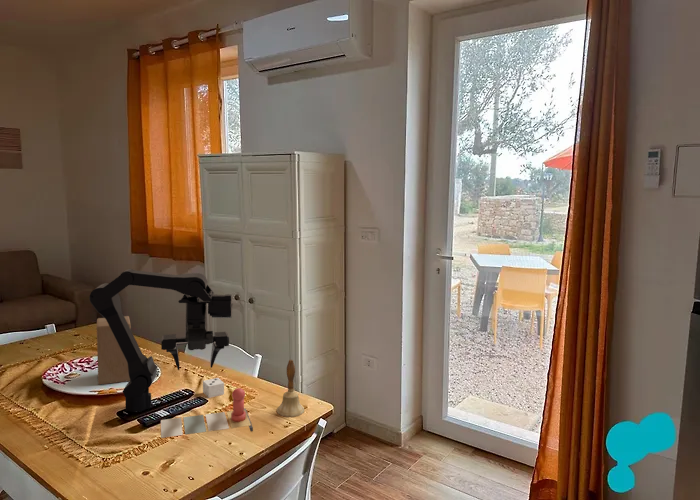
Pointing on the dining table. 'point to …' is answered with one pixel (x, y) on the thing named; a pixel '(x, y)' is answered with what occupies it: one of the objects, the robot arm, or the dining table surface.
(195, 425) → the board
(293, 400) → the hand bell
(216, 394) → the die
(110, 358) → the wooden block
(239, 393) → the pawn
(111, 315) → the robot arm
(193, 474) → the dining table surface
